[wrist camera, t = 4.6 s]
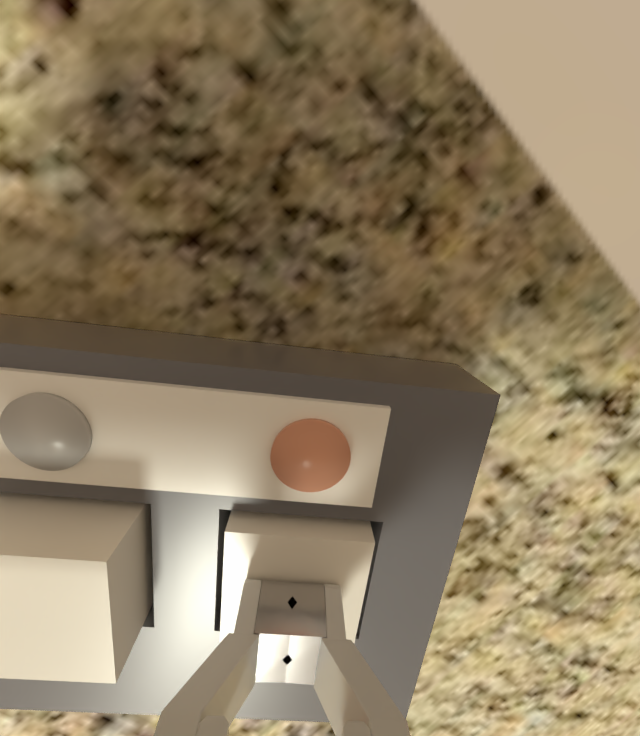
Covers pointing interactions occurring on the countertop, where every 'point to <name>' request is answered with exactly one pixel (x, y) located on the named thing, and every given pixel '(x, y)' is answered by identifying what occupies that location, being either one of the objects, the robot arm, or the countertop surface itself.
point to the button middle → (72, 586)
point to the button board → (242, 482)
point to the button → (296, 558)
